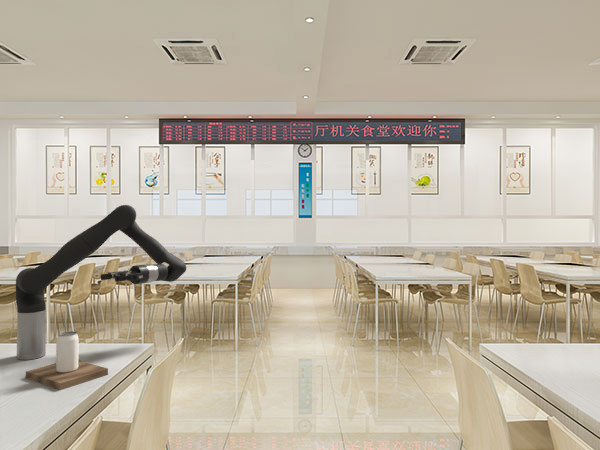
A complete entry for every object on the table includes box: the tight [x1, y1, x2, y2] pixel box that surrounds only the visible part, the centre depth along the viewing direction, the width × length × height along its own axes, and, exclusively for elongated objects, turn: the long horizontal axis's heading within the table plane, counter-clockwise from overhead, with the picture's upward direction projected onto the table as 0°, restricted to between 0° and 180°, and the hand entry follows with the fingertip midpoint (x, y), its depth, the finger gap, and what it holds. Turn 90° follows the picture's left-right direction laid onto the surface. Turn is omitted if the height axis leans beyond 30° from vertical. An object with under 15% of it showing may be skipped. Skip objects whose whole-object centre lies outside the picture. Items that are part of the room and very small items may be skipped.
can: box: [55, 331, 80, 373], centre depth 143 cm, size 6×6×12 cm
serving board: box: [25, 359, 109, 391], centre depth 143 cm, size 20×16×2 cm
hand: (108, 278), depth 163 cm, fingers open, 8 cm apart
